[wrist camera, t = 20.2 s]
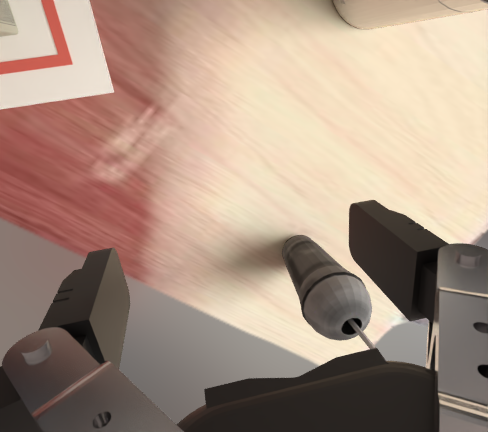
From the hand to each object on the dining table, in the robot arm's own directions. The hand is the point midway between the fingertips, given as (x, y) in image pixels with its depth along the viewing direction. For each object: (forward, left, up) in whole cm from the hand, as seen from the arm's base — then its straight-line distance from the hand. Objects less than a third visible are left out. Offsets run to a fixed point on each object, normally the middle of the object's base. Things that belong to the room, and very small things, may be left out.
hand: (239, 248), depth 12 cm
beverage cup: (-11, +19, -30) cm, 37 cm away
